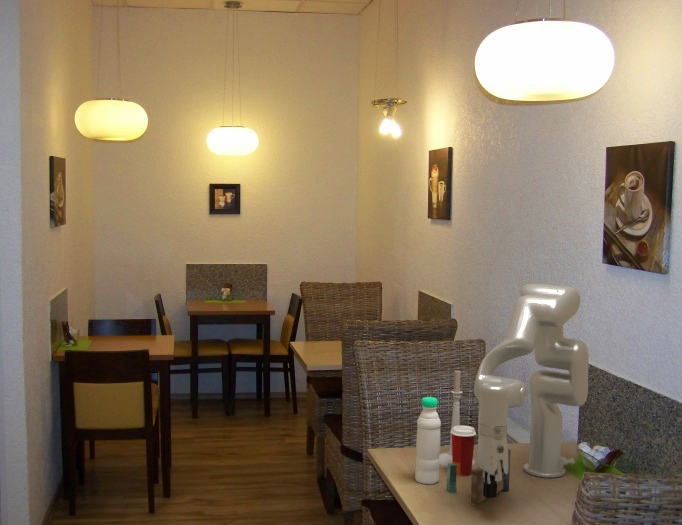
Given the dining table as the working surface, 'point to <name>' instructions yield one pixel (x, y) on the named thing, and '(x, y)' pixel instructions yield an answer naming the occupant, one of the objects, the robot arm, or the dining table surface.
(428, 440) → the water bottle
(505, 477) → the gate posts
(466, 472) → the paper cup
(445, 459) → the candlestick
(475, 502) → the gate
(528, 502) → the dining table surface
